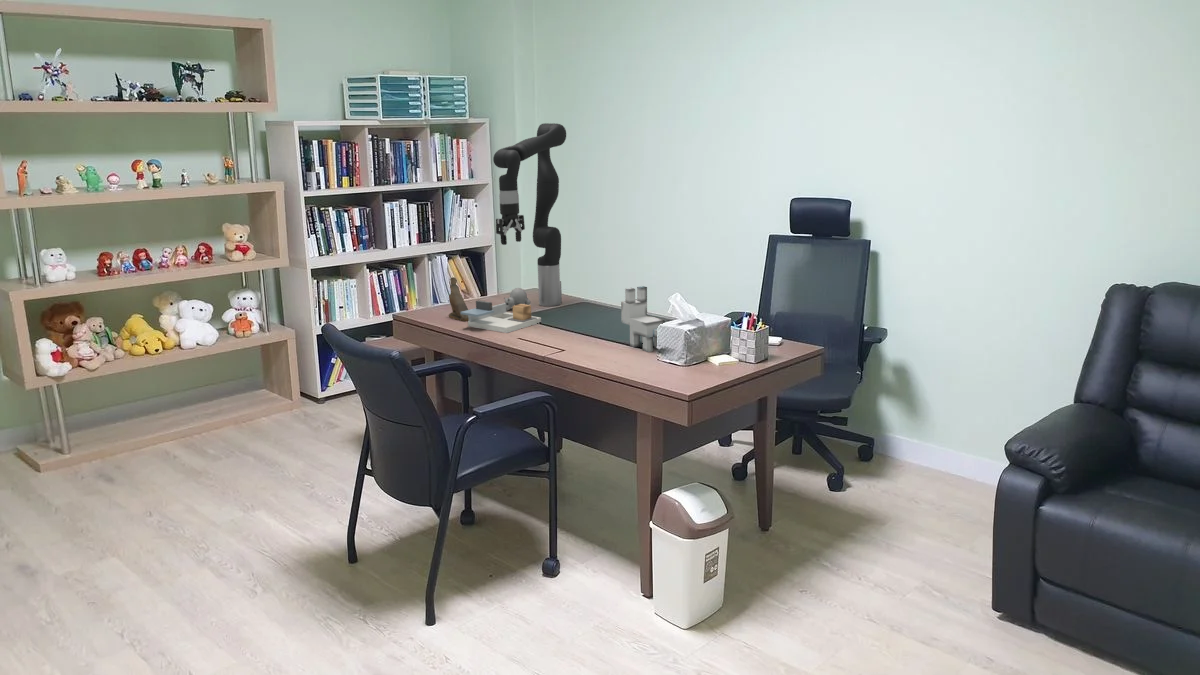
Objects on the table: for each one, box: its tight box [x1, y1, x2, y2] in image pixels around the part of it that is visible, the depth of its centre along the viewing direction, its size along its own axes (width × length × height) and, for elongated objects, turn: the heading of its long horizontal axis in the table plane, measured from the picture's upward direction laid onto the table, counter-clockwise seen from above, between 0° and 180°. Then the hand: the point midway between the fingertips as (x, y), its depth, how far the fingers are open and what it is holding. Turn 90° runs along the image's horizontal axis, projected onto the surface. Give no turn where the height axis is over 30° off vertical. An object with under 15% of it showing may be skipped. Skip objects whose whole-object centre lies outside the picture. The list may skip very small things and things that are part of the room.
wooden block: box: [512, 303, 532, 320], centre depth 338 cm, size 5×5×5 cm
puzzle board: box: [467, 302, 542, 334], centre depth 339 cm, size 20×20×6 cm
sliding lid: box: [461, 300, 494, 317], centre depth 333 cm, size 9×9×4 cm
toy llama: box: [620, 285, 666, 353], centre depth 302 cm, size 8×18×20 cm, turn 34°
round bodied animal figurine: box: [503, 287, 531, 312], centre depth 366 cm, size 7×12×8 cm, turn 127°
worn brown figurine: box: [448, 276, 469, 322], centre depth 350 cm, size 12×6×18 cm, turn 38°
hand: (511, 243), depth 346 cm, fingers open, 8 cm apart
